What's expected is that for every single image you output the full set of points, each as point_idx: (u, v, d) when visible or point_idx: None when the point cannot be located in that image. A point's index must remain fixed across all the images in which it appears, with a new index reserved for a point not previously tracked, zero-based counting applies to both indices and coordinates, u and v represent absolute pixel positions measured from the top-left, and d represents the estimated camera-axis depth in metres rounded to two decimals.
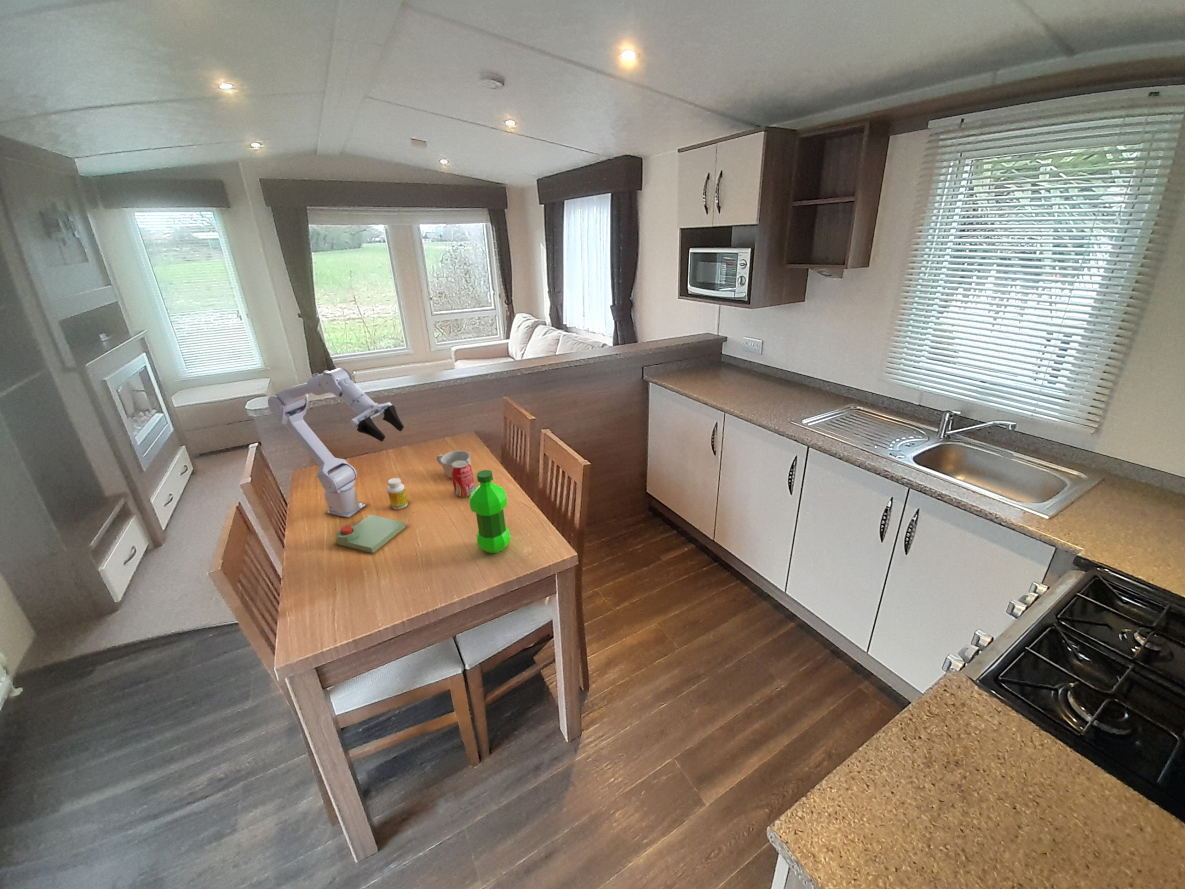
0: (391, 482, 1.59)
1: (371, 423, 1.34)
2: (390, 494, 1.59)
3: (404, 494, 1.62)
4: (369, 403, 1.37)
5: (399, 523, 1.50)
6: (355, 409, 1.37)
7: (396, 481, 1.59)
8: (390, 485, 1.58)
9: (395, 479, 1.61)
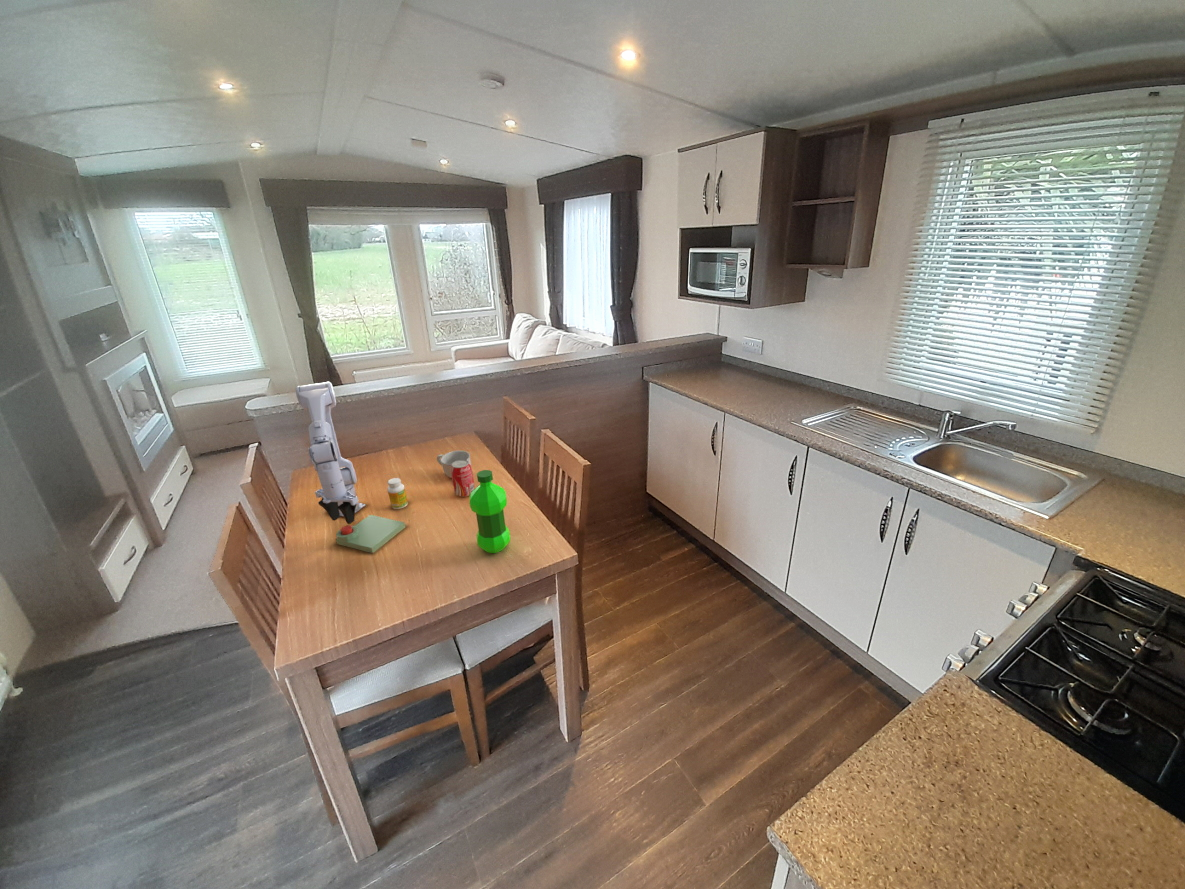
0: (391, 482, 1.59)
1: (324, 507, 1.40)
2: (390, 494, 1.59)
3: (404, 494, 1.62)
4: (325, 495, 1.36)
5: (399, 523, 1.50)
6: None
7: (396, 481, 1.59)
8: (390, 485, 1.58)
9: (395, 479, 1.61)
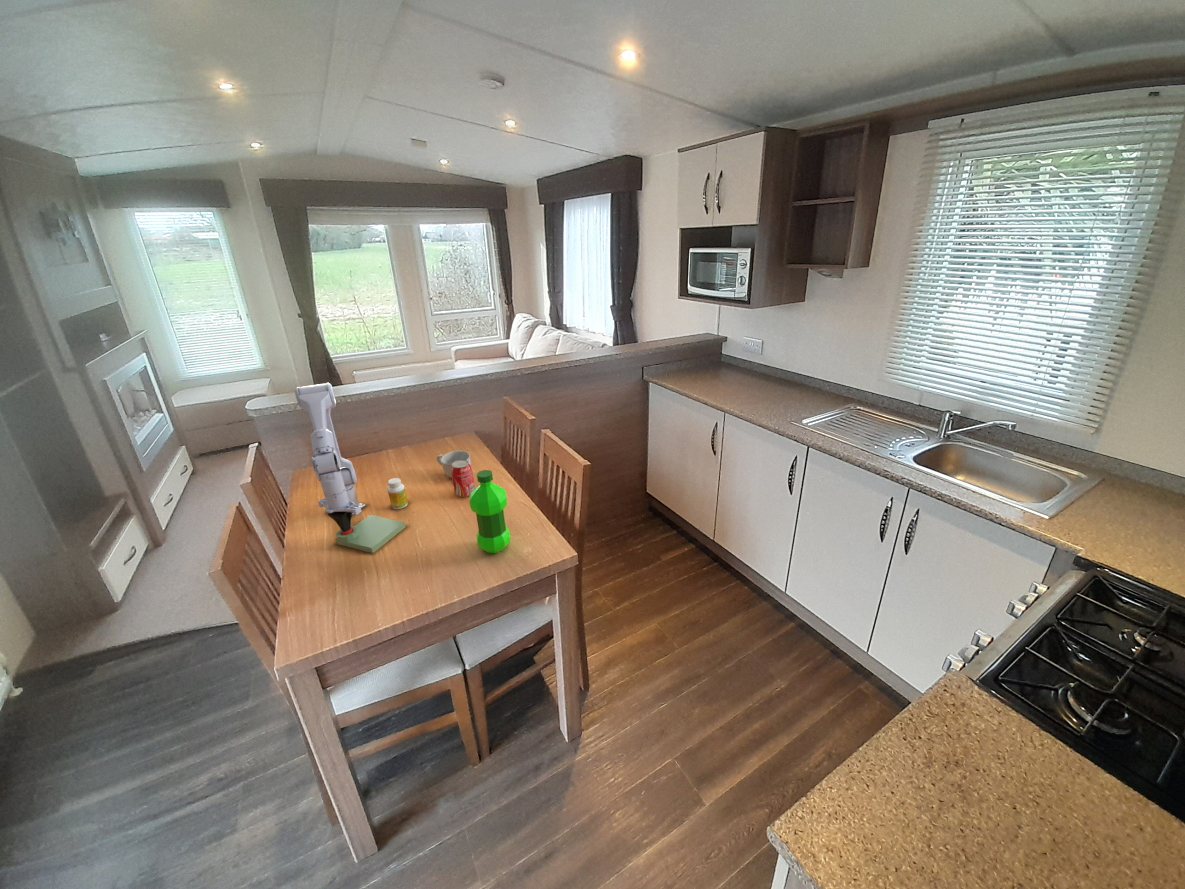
0: (391, 482, 1.59)
1: (334, 518, 1.41)
2: (390, 494, 1.59)
3: (404, 494, 1.62)
4: (328, 504, 1.38)
5: (399, 523, 1.50)
6: None
7: (396, 481, 1.59)
8: (390, 485, 1.58)
9: (395, 479, 1.61)
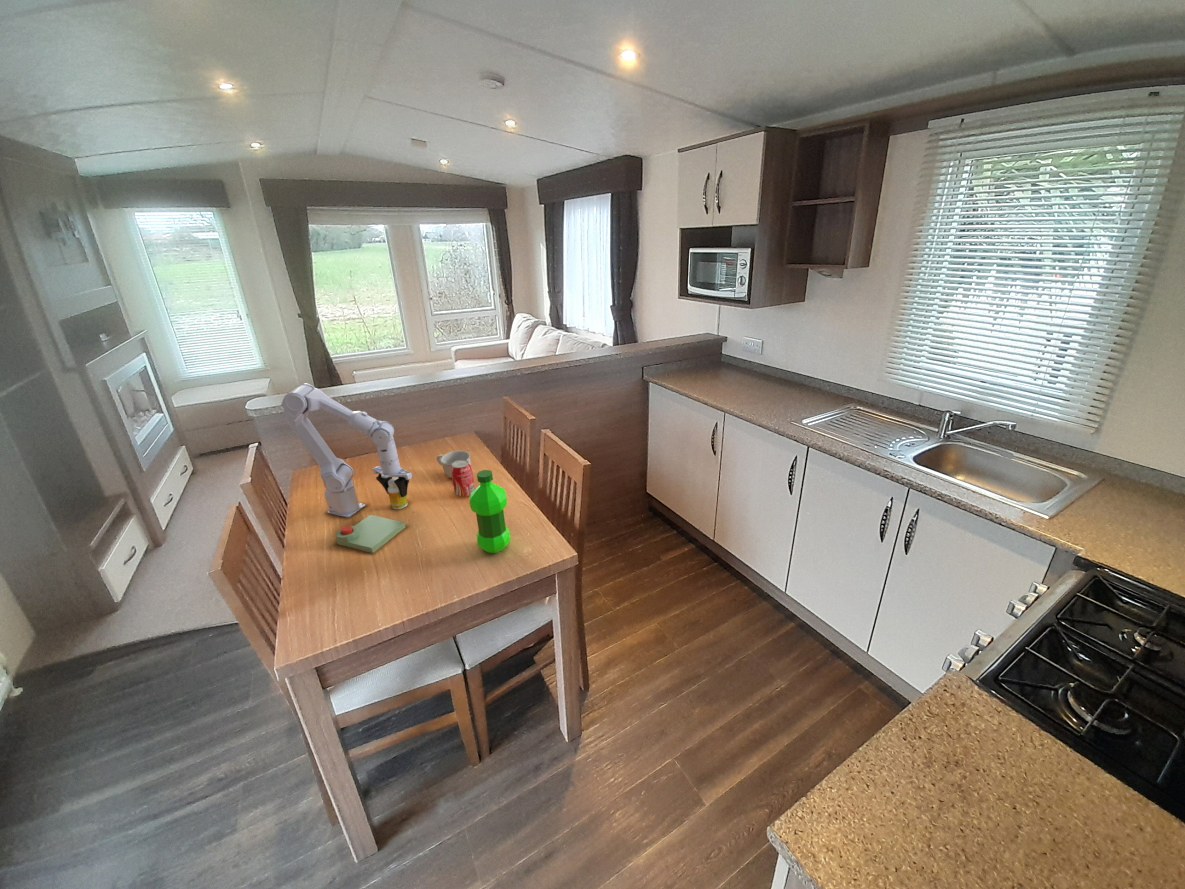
0: (391, 482, 1.59)
1: (381, 482, 1.59)
2: (390, 494, 1.59)
3: None
4: (383, 470, 1.55)
5: (399, 523, 1.50)
6: None
7: None
8: (390, 485, 1.58)
9: (395, 479, 1.61)
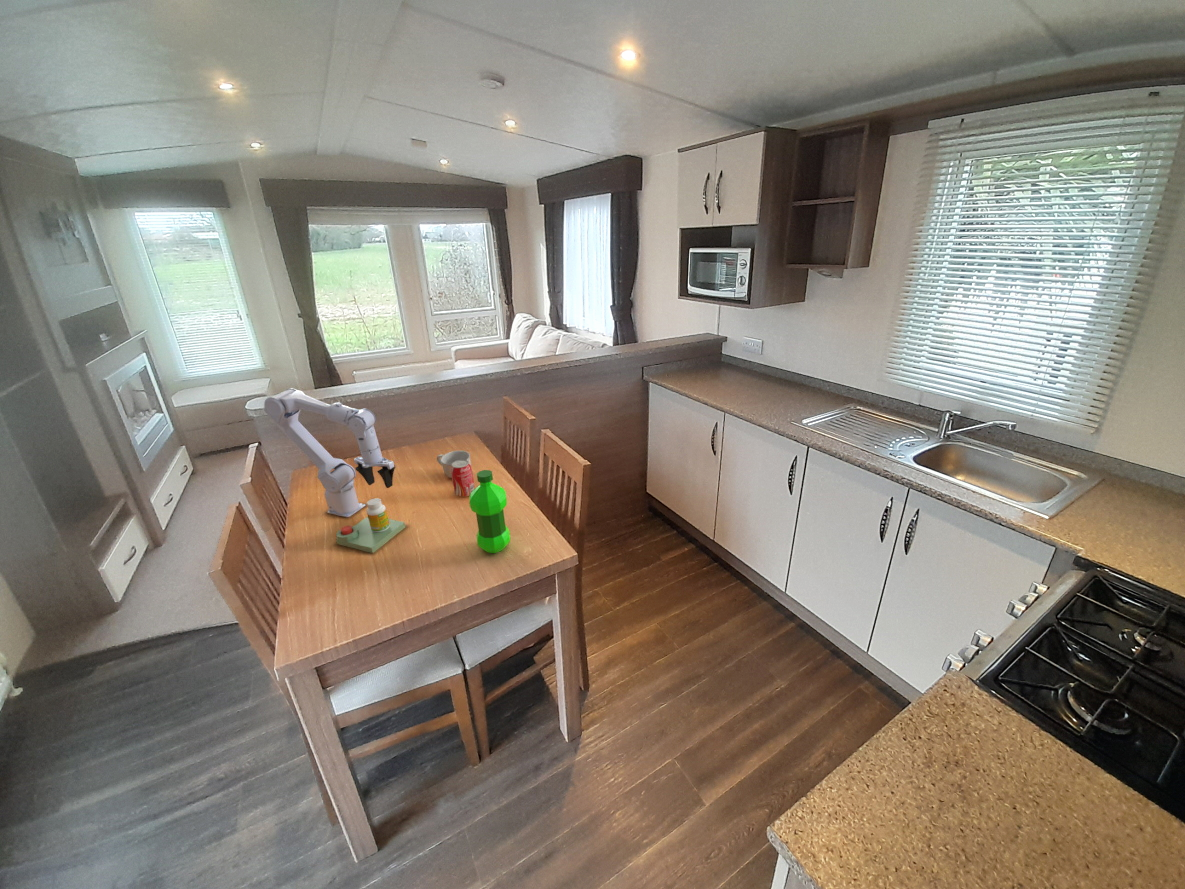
0: (370, 503, 1.43)
1: (361, 473, 1.54)
2: (369, 516, 1.44)
3: (385, 516, 1.46)
4: (364, 460, 1.49)
5: (399, 523, 1.50)
6: None
7: (376, 502, 1.44)
8: (369, 506, 1.43)
9: (375, 499, 1.45)
